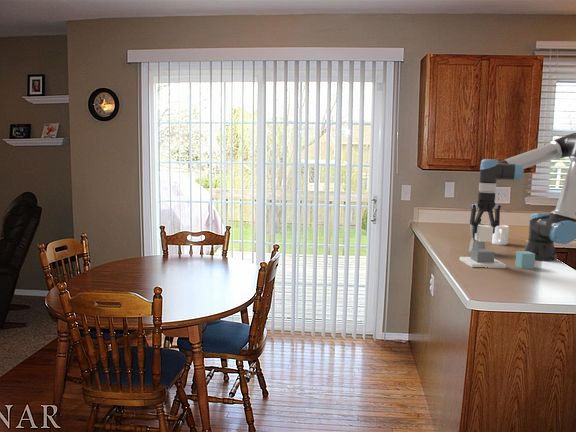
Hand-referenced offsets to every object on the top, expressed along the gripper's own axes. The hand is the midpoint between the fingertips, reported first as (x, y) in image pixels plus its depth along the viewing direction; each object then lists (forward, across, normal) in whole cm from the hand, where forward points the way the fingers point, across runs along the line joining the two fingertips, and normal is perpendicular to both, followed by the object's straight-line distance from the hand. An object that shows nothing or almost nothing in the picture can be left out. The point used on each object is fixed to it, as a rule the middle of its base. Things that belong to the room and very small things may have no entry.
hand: (483, 239), depth 235 cm
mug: (+12, -31, -50) cm, 60 cm away
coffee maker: (+12, -8, -27) cm, 31 cm away
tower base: (+12, 0, 0) cm, 12 cm away
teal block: (+12, -18, +6) cm, 22 cm away
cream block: (0, 0, 0) cm, 0 cm away
